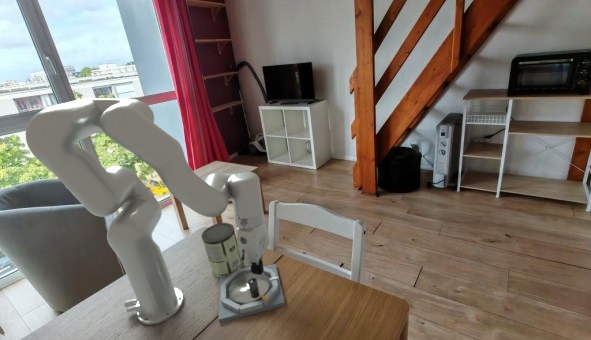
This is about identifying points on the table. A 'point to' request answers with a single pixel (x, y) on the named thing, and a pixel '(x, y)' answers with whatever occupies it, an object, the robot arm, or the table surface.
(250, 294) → the dial
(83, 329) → the table surface
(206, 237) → the coffee can
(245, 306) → the panel
